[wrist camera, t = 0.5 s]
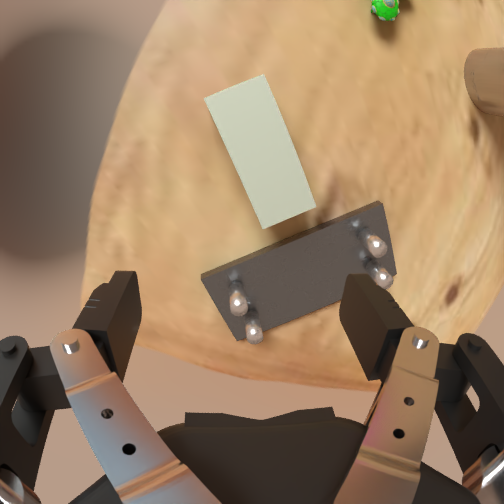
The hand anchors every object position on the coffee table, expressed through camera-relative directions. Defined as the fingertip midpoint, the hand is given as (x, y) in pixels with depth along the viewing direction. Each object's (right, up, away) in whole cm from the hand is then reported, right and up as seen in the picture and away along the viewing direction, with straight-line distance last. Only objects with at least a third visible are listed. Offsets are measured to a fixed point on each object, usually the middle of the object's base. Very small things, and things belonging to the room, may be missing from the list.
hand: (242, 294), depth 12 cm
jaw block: (+1, +12, +19) cm, 23 cm away
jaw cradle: (+7, -1, +26) cm, 27 cm away
